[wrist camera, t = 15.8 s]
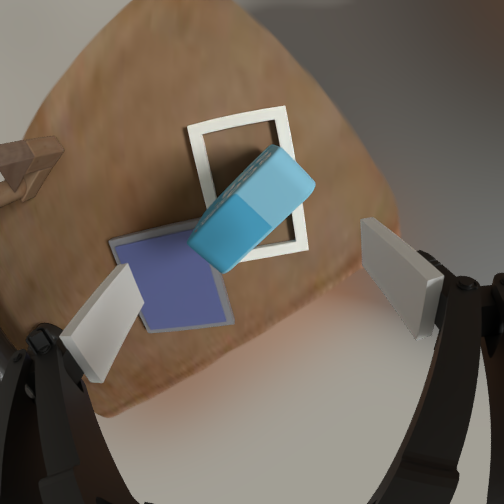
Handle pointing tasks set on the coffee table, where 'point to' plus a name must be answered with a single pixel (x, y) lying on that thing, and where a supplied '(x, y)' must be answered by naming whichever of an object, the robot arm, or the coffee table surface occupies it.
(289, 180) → the data package
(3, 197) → the brown wooden mallet
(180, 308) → the ink pad
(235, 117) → the frame
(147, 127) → the coffee table surface
